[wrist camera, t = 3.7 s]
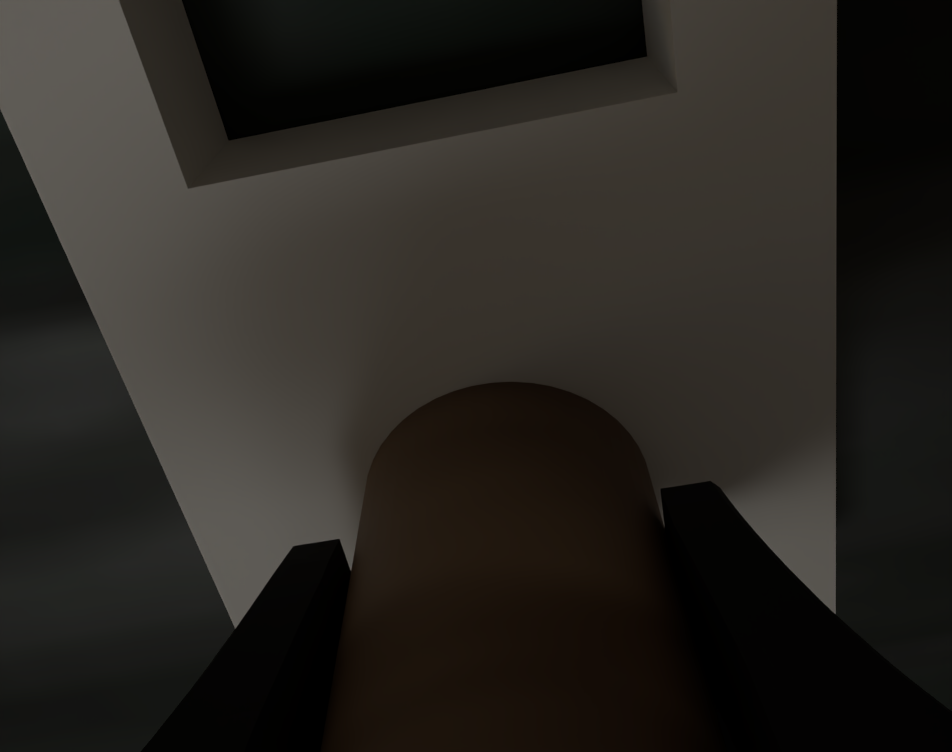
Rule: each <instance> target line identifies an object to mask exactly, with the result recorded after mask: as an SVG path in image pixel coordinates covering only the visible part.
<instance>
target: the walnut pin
mask: <svg viewBox="0 0 952 752" xmlns="http://www.w3.org/2000/svg"><path fill="white" fill-rule="evenodd" d="M320 752H728V750H727V747H726V743H725V740H724V736H723V733H722V729H721V726H720V722H719V719H718V715H717V712H716V708H715V704H714V701H713V697H712V694H711V690H710V687H709V683H708V680H707V676H706V673H705V669H704V665H703V662H702V658H701V655H700V651H699V648H698V644H697V641H696V637H695V634H694V630H693V627H692V623H691V620H690V616H689V613H688V609H687V606H686V602H685V599H684V595H683V592H682V588H681V585H680V581H679V577H678V574H677V570H676V567H675V563H674V560H673V556H672V553H671V549H670V546H669V542H668V539H667V535H666V531H665V527H664V524H663V520H662V517H661V513H660V510H659V506H658V503H657V499H656V496H655V492H654V488H653V485H652V481H651V478H650V474H649V471H648V467H647V464H646V461H645V459H644V457H643V454H642V452H641V450H640V448H639V446H638V445H637V443H636V442H635V440H634V439H633V437H632V436H631V435H630V433H629V432H628V431H627V430H626V429H625V428H624V427H623V426H622V424H621V423H620V422H619V421H618V420H617V419H615V418H614V417H613V416H612V415H610V414H609V413H608V412H607V411H605V410H604V409H603V408H601V407H599V406H598V405H596V404H594V403H593V402H591V401H589V400H587V399H585V398H583V397H581V396H578V395H576V394H574V393H572V392H569V391H565V390H562V389H559V388H555V387H552V386H547V385H541V384H535V383H526V382H495V383H487V384H481V385H475V386H470V387H466V388H463V389H459V390H456V391H453V392H450V393H448V394H445V395H443V396H441V397H438V398H436V399H434V400H432V401H430V402H428V403H427V404H425V405H423V406H421V407H420V408H418V409H417V410H415V411H414V412H413V413H411V414H410V415H409V416H407V417H406V418H405V419H403V420H402V421H401V422H400V423H399V424H398V425H397V426H396V427H395V428H394V429H393V430H392V431H391V433H390V434H389V435H388V437H387V438H386V439H385V440H384V442H383V443H382V444H381V446H380V448H379V450H378V451H377V453H376V455H375V457H374V459H373V461H372V464H371V467H370V470H369V473H368V476H367V482H366V487H365V493H364V499H363V505H362V511H361V516H360V522H359V528H358V534H357V540H356V546H355V551H354V557H353V563H352V569H351V575H350V581H349V587H348V592H347V598H346V604H345V610H344V616H343V622H342V627H341V633H340V639H339V645H338V651H337V657H336V662H335V668H334V674H333V680H332V686H331V692H330V698H329V703H328V709H327V715H326V721H325V727H324V733H323V738H322V744H321V750H320Z"/></svg>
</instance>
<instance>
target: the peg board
mask: <svg viewBox="0 0 952 752" xmlns="http://www.w3.org/2000/svg"><path fill="white" fill-rule="evenodd" d="M642 9H643V19H644V29H645V39H646V50H647V57H642V58H637V59H632V60H627V61H622V62H617V63H612V64H607V65H602V66H597V67H592V68H587V69H582V70H577V71H572V72H567V73H562V74H557V75H552V76H548V77H543V78H538V79H533V80H528V81H523V82H518V83H513V84H508V85H503V86H498V87H493V88H488V89H483V90H478V91H473V92H468V93H463V94H458V95H453V96H448V97H443V98H438V99H433V100H428V101H423V102H418V103H413V104H408V105H403V106H398V107H394V108H389V109H384V110H379V111H374V112H369V113H364V114H359V115H354V116H349V117H344V118H339V119H334V120H329V121H324V122H319V123H314V124H309V125H304V126H299V127H294V128H289V129H284V130H279V131H274V132H269V133H264V134H259V135H254V136H249V137H244V138H240V139H235V140H230V141H229V140H228V137H227V134H226V131H225V128H224V125H223V122H222V119H221V116H220V113H219V110H218V107H217V104H216V101H215V98H214V95H213V92H212V89H211V86H210V83H209V81H208V78H207V75H206V72H205V69H204V66H203V63H202V60H201V57H200V54H199V51H198V48H197V45H196V42H195V39H194V36H193V33H192V30H191V27H190V24H189V21H188V18H187V15H186V12H185V9H184V6H183V3H182V0H0V109H1V111H2V114H3V116H4V118H5V120H6V122H7V125H8V127H9V129H10V131H11V134H12V136H13V138H14V140H15V142H16V145H17V147H18V149H19V151H20V153H21V156H22V158H23V160H24V162H25V164H26V167H27V169H28V171H29V173H30V176H31V178H32V180H33V182H34V184H35V187H36V189H37V191H38V193H39V195H40V198H41V200H42V202H43V204H44V206H45V209H46V211H47V213H48V215H49V218H50V220H51V222H52V224H53V226H54V229H55V231H56V233H57V235H58V237H59V240H60V242H61V244H62V246H63V248H64V251H65V253H66V255H67V257H68V260H69V262H70V264H71V266H72V268H73V271H74V273H75V275H76V277H77V279H78V282H79V284H80V286H81V288H82V291H83V293H84V295H85V297H86V299H87V302H88V304H89V306H90V308H91V310H92V313H93V315H94V317H95V319H96V321H97V324H98V326H99V328H100V330H101V333H102V335H103V337H104V339H105V341H106V344H107V346H108V348H109V350H110V352H111V355H112V357H113V359H114V361H115V363H116V366H117V368H118V370H119V372H120V375H121V377H122V379H123V381H124V383H125V386H126V388H127V390H128V392H129V394H130V397H131V399H132V401H133V403H134V406H135V408H136V410H137V412H138V414H139V417H140V419H141V421H142V423H143V425H144V428H145V430H146V432H147V434H148V436H149V439H150V441H151V443H152V445H153V448H154V450H155V452H156V454H157V456H158V459H159V461H160V463H161V465H162V467H163V470H164V472H165V474H166V476H167V478H168V481H169V483H170V485H171V487H172V490H173V492H174V494H175V496H176V498H177V501H178V503H179V505H180V507H181V509H182V512H183V514H184V516H185V518H186V520H187V523H188V525H189V527H190V529H191V532H192V534H193V536H194V538H195V540H196V543H197V545H198V547H199V549H200V551H201V554H202V556H203V558H204V560H205V563H206V565H207V567H208V569H209V571H210V574H211V576H212V578H213V580H214V582H215V585H216V587H217V589H218V591H219V593H220V596H221V598H222V600H223V602H224V605H225V607H226V609H227V611H228V613H229V616H230V618H231V620H232V622H233V624H234V627H235V629H236V627H237V626H238V624H239V623H240V621H241V620H242V618H243V617H244V616H245V614H246V613H247V611H248V610H249V608H250V607H251V606H252V604H253V603H254V601H255V600H256V598H257V597H258V595H259V594H260V592H261V591H262V590H263V588H264V587H265V585H266V584H267V582H268V581H269V579H270V578H271V577H272V575H273V574H274V572H275V571H276V569H277V568H278V566H279V565H280V564H281V562H282V561H283V560H284V558H285V557H286V555H287V554H288V553H289V551H290V550H291V549H292V547H293V546H296V545H303V544H309V543H316V542H322V541H328V540H335V539H340V542H341V545H342V547H343V550H344V553H345V556H346V559H347V562H348V565H349V567H350V570H351V569H352V563H353V557H354V551H355V546H356V540H357V534H358V528H359V522H360V516H361V511H362V505H363V499H364V493H365V487H366V482H367V476H368V473H369V470H370V467H371V464H372V461H373V459H374V457H375V455H376V453H377V451H378V450H379V448H380V446H381V444H382V443H383V442H384V440H385V439H386V438H387V437H388V435H389V434H390V433H391V431H392V430H393V429H394V428H395V427H396V426H397V425H398V424H399V423H400V422H401V421H402V420H403V419H405V418H406V417H407V416H409V415H410V414H411V413H413V412H414V411H415V410H417V409H418V408H420V407H421V406H423V405H425V404H427V403H428V402H430V401H432V400H434V399H436V398H438V397H441V396H443V395H445V394H448V393H450V392H453V391H456V390H459V389H463V388H466V387H470V386H475V385H481V384H487V383H495V382H526V383H535V384H541V385H547V386H552V387H555V388H559V389H562V390H565V391H569V392H572V393H574V394H576V395H578V396H581V397H583V398H585V399H587V400H589V401H591V402H593V403H594V404H596V405H598V406H599V407H601V408H603V409H604V410H605V411H607V412H608V413H609V414H610V415H612V416H613V417H614V418H615V419H617V420H618V421H619V422H620V423H621V424H622V426H623V427H624V428H625V429H626V430H627V431H628V432H629V433H630V435H631V436H632V437H633V439H634V440H635V442H636V443H637V445H638V446H639V448H640V450H641V452H642V454H643V457H644V459H645V461H646V464H647V467H648V471H649V474H650V478H651V481H652V485H653V488H654V492H655V496H656V499H657V503H658V506H659V510H660V513H661V517H662V520H663V524H664V517H663V508H662V500H661V491H660V489H661V488H668V487H674V486H681V485H687V484H693V483H700V482H706V481H711V482H713V483H714V484H716V485H717V486H719V487H720V488H721V489H722V491H723V492H724V494H725V495H726V496H727V498H728V499H729V500H730V501H731V503H732V504H733V505H734V507H735V508H736V509H737V510H738V512H739V513H740V514H741V515H742V516H743V518H744V519H745V520H746V521H747V522H748V524H749V525H750V526H751V527H752V528H753V530H754V531H755V532H756V533H757V534H758V535H759V536H760V537H761V539H762V540H763V541H764V542H765V543H766V544H767V545H768V546H769V548H770V549H771V550H772V551H773V552H774V553H775V554H776V555H777V556H778V557H779V558H780V559H781V561H782V562H783V563H784V564H785V565H786V566H787V567H788V568H789V569H790V570H791V571H792V572H793V573H794V574H795V575H796V576H797V577H798V578H799V579H800V580H801V581H802V582H803V583H804V584H805V585H806V586H807V587H808V588H809V589H810V590H811V591H812V592H813V593H814V594H815V595H816V596H817V597H818V598H819V599H820V600H821V601H822V602H823V603H824V604H825V605H826V606H827V607H828V608H829V609H830V610H831V611H832V612H834V613H835V614H836V183H837V0H642ZM664 527H665V525H664Z"/></svg>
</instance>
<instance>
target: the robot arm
mask: <svg viewBox="0 0 952 752" xmlns="http://www.w3.org/2000/svg"><path fill="white" fill-rule="evenodd" d="M660 491H661V500H662V508H663V517H664V525H665V531H666V535H667V539H668V542H669V546H670V549H671V553H672V556H673V560H674V563H675V567H676V570H677V574H678V577H679V581H680V585H681V588H682V592H683V595H684V599H685V602H686V606H687V609H688V613H689V616H690V620H691V623H692V627H693V630H694V634H695V637H696V641H697V644H698V648H699V651H700V655H701V658H702V662H703V665H704V669H705V673H706V676H707V680H708V683H709V687H710V690H711V694H712V697H713V701H714V704H715V708H716V712H717V715H718V719H719V722H720V726H721V729H722V733H723V736H724V740H725V743H726V747H727V750H728V752H952V711H950V710H949V709H948V708H946V707H945V706H944V705H943V704H941V703H940V702H939V701H937V700H936V699H935V698H933V697H932V696H931V695H930V694H928V693H927V692H926V691H924V690H923V689H922V688H921V687H919V686H918V685H917V684H915V683H914V682H913V681H912V680H910V679H909V678H908V677H907V676H905V675H904V674H903V673H902V672H901V671H899V670H898V669H897V668H896V667H894V666H893V665H892V664H891V663H890V662H889V661H887V660H886V659H885V658H884V657H883V656H881V655H880V654H879V653H878V652H877V651H876V650H874V649H873V648H872V647H871V646H870V645H869V644H868V643H867V642H865V641H864V640H863V639H862V638H861V637H860V636H859V635H858V634H857V633H855V632H854V631H853V630H852V629H851V628H850V627H849V626H848V625H846V624H845V623H844V622H843V621H842V620H841V619H840V618H839V617H838V616H837V615H836V614H835V613H834V612H832V611H831V610H830V609H829V608H828V607H827V606H826V605H825V604H824V603H823V602H822V601H821V600H820V599H819V598H818V597H817V596H816V595H815V594H814V593H813V592H812V591H811V590H810V589H809V588H808V587H807V586H806V585H805V584H804V583H803V582H802V581H801V580H800V579H799V578H798V577H797V576H796V575H795V574H794V573H793V572H792V571H791V570H790V569H789V568H788V567H787V566H786V565H785V564H784V563H783V562H782V561H781V559H780V558H779V557H778V556H777V555H776V554H775V553H774V552H773V551H772V550H771V549H770V548H769V546H768V545H767V544H766V543H765V542H764V541H763V540H762V539H761V537H760V536H759V535H758V534H757V533H756V532H755V531H754V530H753V528H752V527H751V526H750V525H749V524H748V522H747V521H746V520H745V519H744V518H743V516H742V515H741V514H740V513H739V512H738V510H737V509H736V508H735V507H734V505H733V504H732V503H731V501H730V500H729V499H728V498H727V496H726V495H725V494H724V492H723V491H722V489H721V488H720V487H719V486H717V485H716V484H714V483H713V482H711V481H706V482H700V483H693V484H687V485H681V486H674V487H668V488H661V489H660ZM350 575H351V570H350V567H349V565H348V562H347V559H346V556H345V553H344V550H343V547H342V545H341V542H340V539H335V540H328V541H322V542H316V543H309V544H303V545H296V546H293V547H292V549H291V550H290V551H289V553H288V554H287V555H286V557H285V558H284V560H283V561H282V562H281V564H280V565H279V566H278V568H277V569H276V571H275V572H274V574H273V575H272V577H271V578H270V579H269V581H268V582H267V584H266V585H265V587H264V588H263V590H262V591H261V592H260V594H259V595H258V597H257V598H256V600H255V601H254V603H253V604H252V606H251V607H250V608H249V610H248V611H247V613H246V614H245V616H244V617H243V618H242V620H241V621H240V623H239V624H238V626H237V627H236V629H235V630H234V631H233V633H232V634H231V635H230V637H229V638H228V640H227V641H226V642H225V644H224V645H223V647H222V648H221V649H220V651H219V652H218V653H217V655H216V656H215V658H214V659H213V660H212V662H211V663H210V664H209V666H208V667H207V669H206V670H205V671H204V673H203V674H202V675H201V677H200V678H199V679H198V681H197V682H196V683H195V685H194V686H193V687H192V689H191V690H190V691H189V692H188V694H187V695H186V696H185V698H184V699H183V700H182V701H181V703H180V704H179V705H178V706H177V708H176V709H175V710H174V711H173V713H172V714H171V715H170V716H169V718H168V719H167V720H166V721H165V723H164V724H163V725H162V726H161V728H160V729H159V730H158V731H157V733H156V734H155V735H154V736H153V738H152V739H151V740H150V741H149V743H148V744H147V745H146V746H145V747H144V748H143V750H142V751H141V752H320V750H321V744H322V738H323V733H324V727H325V721H326V715H327V709H328V703H329V698H330V692H331V686H332V680H333V674H334V668H335V662H336V657H337V651H338V645H339V639H340V633H341V627H342V622H343V616H344V610H345V604H346V598H347V592H348V587H349V581H350Z"/></svg>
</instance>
